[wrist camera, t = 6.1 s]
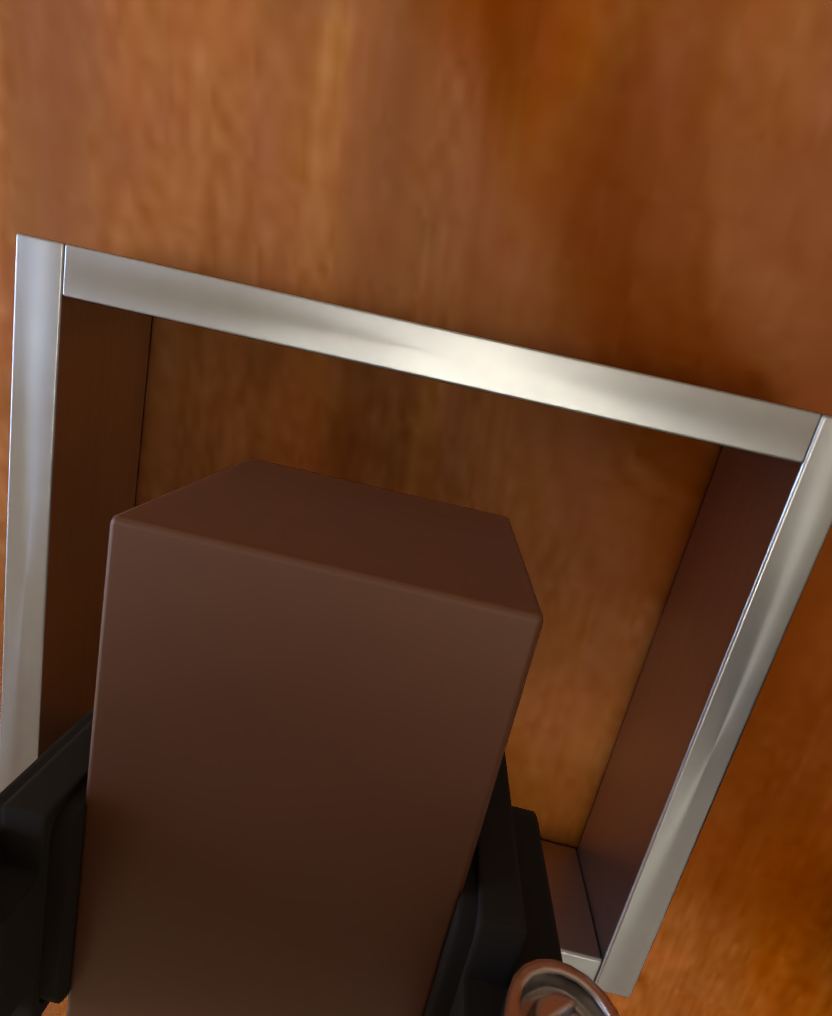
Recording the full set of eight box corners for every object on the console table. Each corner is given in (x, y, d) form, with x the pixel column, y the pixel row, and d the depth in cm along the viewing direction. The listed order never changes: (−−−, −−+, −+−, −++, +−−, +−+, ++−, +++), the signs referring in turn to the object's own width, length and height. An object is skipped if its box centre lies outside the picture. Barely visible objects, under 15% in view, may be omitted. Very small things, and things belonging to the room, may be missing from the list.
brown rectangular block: (181, 915, 12) (49, 1176, 8) (248, 456, 10) (106, 515, 6) (388, 966, 12) (356, 1252, 8) (510, 516, 10) (546, 617, 6)
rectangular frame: (82, 752, 18) (-4, 839, 15) (119, 262, 15) (14, 231, 11) (599, 880, 18) (630, 999, 15) (777, 410, 14) (875, 425, 11)
